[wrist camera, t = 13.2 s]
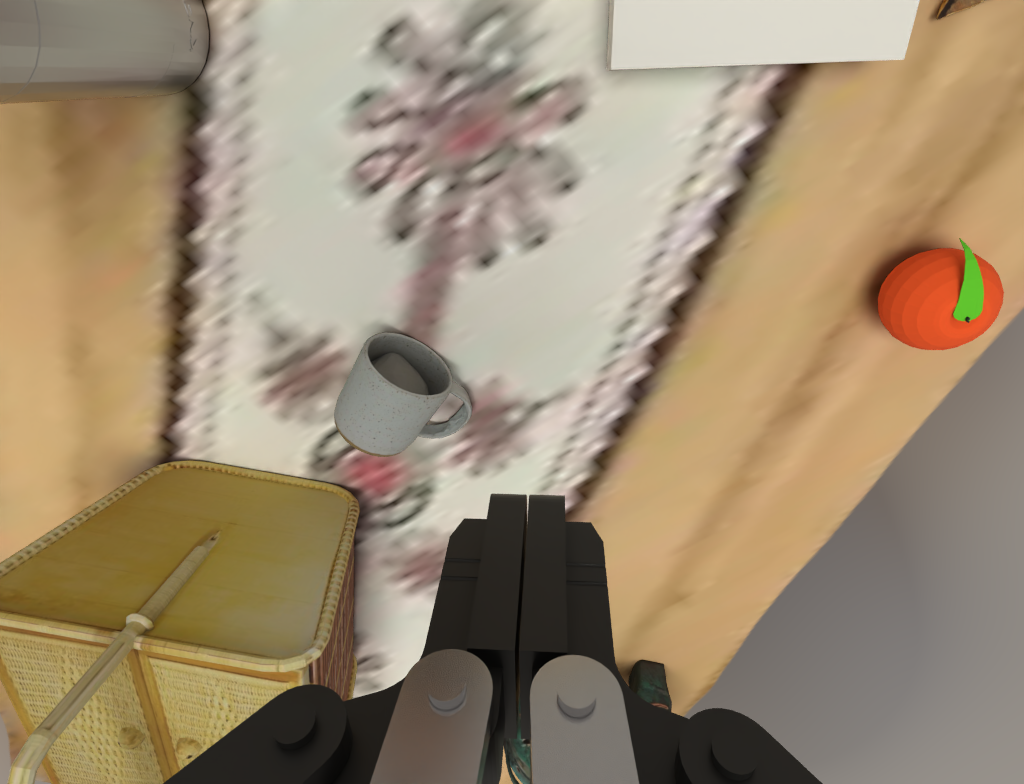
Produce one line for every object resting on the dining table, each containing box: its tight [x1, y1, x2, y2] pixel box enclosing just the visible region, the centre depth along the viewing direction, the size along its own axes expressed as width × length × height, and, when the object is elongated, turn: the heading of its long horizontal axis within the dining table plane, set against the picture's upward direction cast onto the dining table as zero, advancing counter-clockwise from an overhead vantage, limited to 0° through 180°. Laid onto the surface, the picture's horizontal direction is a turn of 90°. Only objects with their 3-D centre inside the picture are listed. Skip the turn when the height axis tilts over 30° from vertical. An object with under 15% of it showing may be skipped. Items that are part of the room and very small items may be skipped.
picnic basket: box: [0, 460, 360, 784], centre depth 50 cm, size 29×26×30 cm
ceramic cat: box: [503, 660, 672, 784], centre depth 58 cm, size 20×6×20 cm, turn 79°
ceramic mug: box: [334, 332, 472, 457], centre depth 47 cm, size 11×8×8 cm
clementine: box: [878, 238, 1004, 350], centre depth 39 cm, size 8×7×7 cm
